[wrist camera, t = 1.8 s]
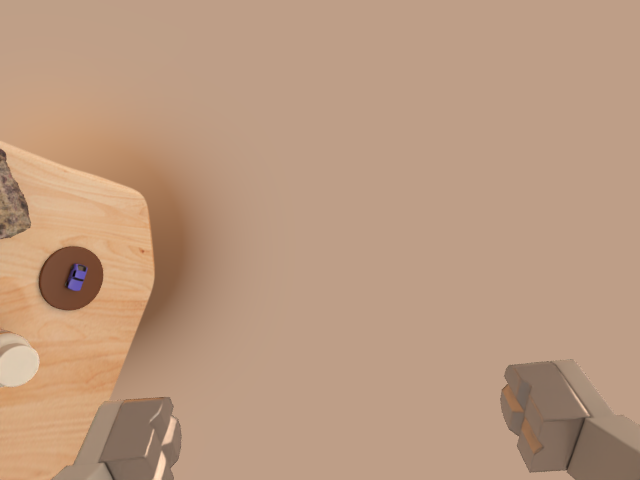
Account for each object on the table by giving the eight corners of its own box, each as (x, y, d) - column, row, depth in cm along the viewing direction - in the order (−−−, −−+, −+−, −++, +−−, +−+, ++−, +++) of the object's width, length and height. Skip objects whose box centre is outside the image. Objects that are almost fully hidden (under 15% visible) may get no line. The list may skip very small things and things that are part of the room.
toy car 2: (29, 302, 53) (36, 304, 52) (53, 238, 55) (59, 239, 54) (90, 314, 60) (96, 316, 59) (109, 256, 62) (116, 257, 61)
